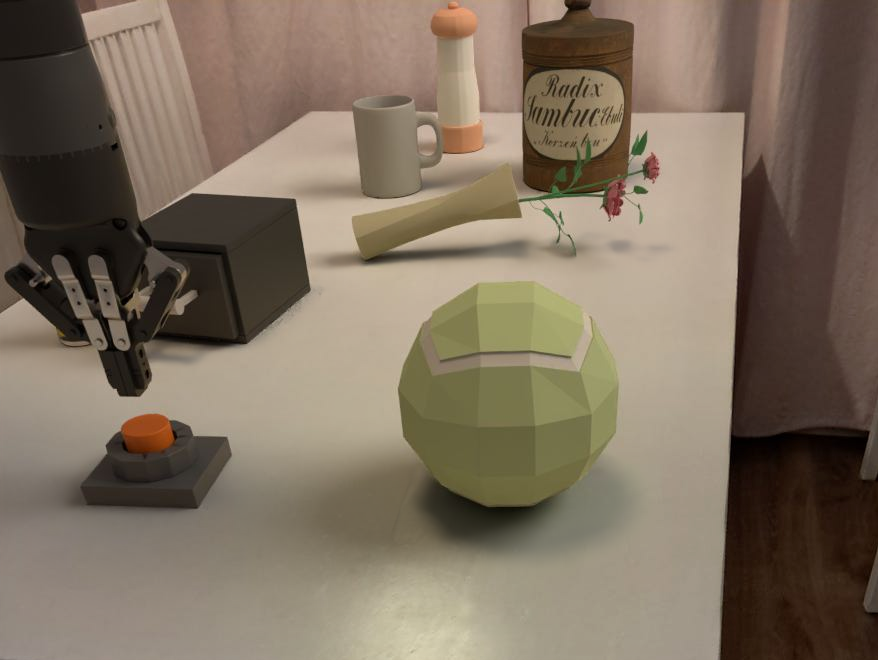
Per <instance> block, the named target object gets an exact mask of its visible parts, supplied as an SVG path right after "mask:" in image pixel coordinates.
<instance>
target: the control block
mask: <svg viewBox="0 0 878 660" xmlns="http://www.w3.org/2000/svg"><path fill="white" fill-rule="evenodd" d="M168 420H169V423H170V426H171V429H172V433H173V436H174V443H173V444H172V445H171V446H169V447H167V448H165V449H163V450H161V451H157V452H152V453H148V454H132V453H130V452H128V450H127V447H126V444H125V441H124V439H123V436H122V433H121V430H119V431H118V432H115V433H114V434H113V435H112V437H111V438H110V439H109V440H108V441H107V443H106V444H105V449H106V454H105V456H104V457H103V458H102V459H101V460H100V462H99V463H97V465H96V466H95V467H94V468H93V470H92V471H91V472H90V473H89V475H88V476H87V477H86V478H85V479H84V480H83V482H81V484H80V486H79V487H80V490H81V493H82V496H83V498H84V500H85V504H86V505H87V506H111V507H112V506H114V507H115V506H116V507H117V506H118V507H147V508H149V507H150V508H172V509H173V508H174V509H176V508H177V509H179V508H180V509H199V507H200V506H201V504H202V503H203V501H204V499H205V498H206V496H207V495H208V493H209V492H210V490H211V488H212V487H213V486H214V484H215V483H216V481H217V479H218V477H219V476H220V474H221V473H222V472H223V470H224V468H225V467H226V465H227V463H228V462H229V461H230V459H231V457H232V456H233V455H232V450H231V446H230V442H229V438H228V436H213V435H212V436H211V435H194V432H193V430H192V428H191V426H190V425H188V424H186V423H184V422H181V421H180V420H176V419H168Z"/></svg>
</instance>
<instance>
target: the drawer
mask: <svg viewBox="0 0 878 660" xmlns="http://www.w3.org/2000/svg"><path fill="white" fill-rule="evenodd" d="M155 249H157V250H158V251H160V252H161V253H162V254H164V255H165V256H167V257H168V258H170V259H171V260H173V261H175V260H176V259H183V260H185V261H186V262H187V263H188V264H189V266H190V273H189V275H188V277H187V279H186V281H185V283H184V285H183V287H182V289H181V291H180V293H179V295H178V297H177V299H176V301H175V304H174V306H173V308H172V310H171V312H170V314H169V316H168V318H167V320H166V322H165V324H164V326H163V327H162V328H161V329H160V330H159V331H158V332H168V333H178V334H188V335H198V336H208V337H218V338H227V339H235V338H236V337H237V336H239V335H240V333H239V328H238V324H237V319H236V315H235V310H234V306H233V302H232V297H231V293H230V288H229V284H228V279H227V275H226V270H225V266H224V261H223V257H222V255H221V253H213V252H199V251H186V250H172V249H158V248H155ZM148 274H149V272H148V268H147V266H146V267H145V270H144V272H143V275H142V277H141V280H140V282H139V285H138V287H137V288H138V292H139V297H140V302H139V313H140V317H141V315H142V313H143V311H144V309H145V307H146V304H147V302H148V300H149V298H150V296H151V294H152V292H153V290H154V288H152V287H150V285H149V281H148Z"/></svg>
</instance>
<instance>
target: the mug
mask: <svg viewBox="0 0 878 660" xmlns="http://www.w3.org/2000/svg"><path fill="white" fill-rule="evenodd" d="M351 106H352V107H351V108H352V118H353V125H354V133H355V141H356V151H357V158H358V165H359V166H358V167H359V168H358V169H359V177H360V187H361V191H362V193H363V194H364V195H366V196H368V197H371V198H377V197H378V198H379V199H393V198H402V197H407V196H410V195H412V194H415V193H417V192H419V191H420V190H421V188H422V171H421V169H422V170H423V169H429V168H433V167H436V166H437V165H438V164H439V163H440V162H441V160H442V158H443V154H444V152H443V133H442V128H441V125H440V122H439V120H438V116H436V115H435V114H434V113H431V112H426V111H417V110H416V102H415V99H414V98H413V97H411V96H409V95H403V94H379V95H372V96H366V97H362V98H359V99H356V100H354V101H353V103H352V105H351ZM422 126H430V127H431V128H433V130H434V133H435V139H436V146H435V151H434V152H433V154H430V155H424V154H423V153H420V147H419V139H418V136H419V135H418V128H419V127H422Z"/></svg>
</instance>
